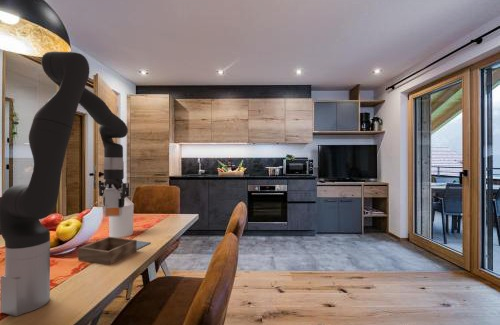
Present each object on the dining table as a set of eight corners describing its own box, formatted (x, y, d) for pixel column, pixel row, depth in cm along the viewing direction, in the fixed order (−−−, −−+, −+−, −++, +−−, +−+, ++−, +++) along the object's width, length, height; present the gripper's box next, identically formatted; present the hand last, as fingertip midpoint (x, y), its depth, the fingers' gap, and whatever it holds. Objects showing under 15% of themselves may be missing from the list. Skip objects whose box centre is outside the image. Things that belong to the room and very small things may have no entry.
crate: (108, 265, 94) (108, 252, 94) (78, 260, 99) (78, 247, 99) (136, 251, 109) (136, 240, 109) (109, 247, 113) (109, 236, 113)
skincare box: (104, 217, 103) (104, 188, 103) (107, 215, 107) (107, 187, 107) (120, 216, 104) (120, 188, 104) (122, 214, 109) (122, 187, 108)
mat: (137, 249, 110) (137, 248, 110) (120, 247, 113) (120, 246, 113) (150, 243, 119) (150, 242, 119) (135, 241, 122) (135, 240, 122)
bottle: (120, 238, 126) (121, 189, 125) (103, 236, 130) (103, 188, 129) (138, 232, 137) (138, 187, 137) (121, 230, 141) (122, 186, 140)
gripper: (92, 168, 104) (92, 207, 104) (120, 168, 100) (120, 209, 100) (107, 167, 111) (107, 204, 111) (134, 168, 107) (134, 206, 107)
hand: (113, 206), depth 106 cm, fingers closed on skincare box, 7 cm apart
